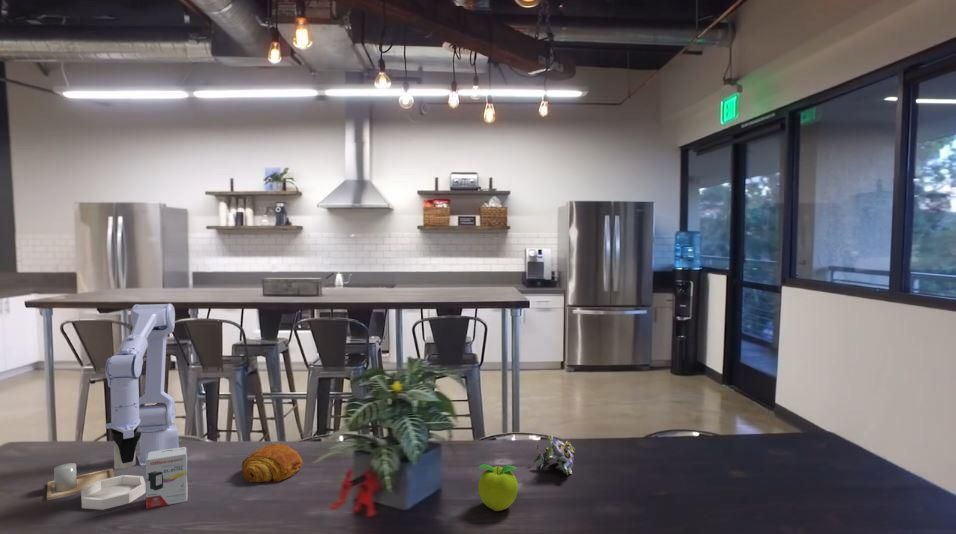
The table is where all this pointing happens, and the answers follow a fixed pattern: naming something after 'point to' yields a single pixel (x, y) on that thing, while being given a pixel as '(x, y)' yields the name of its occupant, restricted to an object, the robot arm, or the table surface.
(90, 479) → the oak tray
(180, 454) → the ink box
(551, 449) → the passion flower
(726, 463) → the table surface
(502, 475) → the fruit
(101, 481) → the white octagonal dish
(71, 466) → the stone
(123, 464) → the grey rounded cylinder
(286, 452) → the croissant
